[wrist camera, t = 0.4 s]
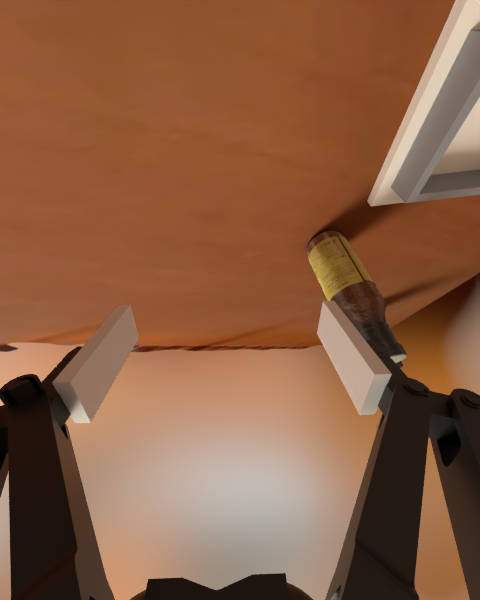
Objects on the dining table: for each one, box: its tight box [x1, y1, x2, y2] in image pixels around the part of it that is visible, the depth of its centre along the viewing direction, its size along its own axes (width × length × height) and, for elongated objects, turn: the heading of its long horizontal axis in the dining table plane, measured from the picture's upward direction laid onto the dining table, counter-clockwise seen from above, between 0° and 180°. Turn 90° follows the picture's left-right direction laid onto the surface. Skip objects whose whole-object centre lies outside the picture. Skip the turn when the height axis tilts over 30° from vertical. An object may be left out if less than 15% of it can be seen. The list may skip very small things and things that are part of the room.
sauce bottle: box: [307, 230, 407, 363], centre depth 32 cm, size 7×6×20 cm
